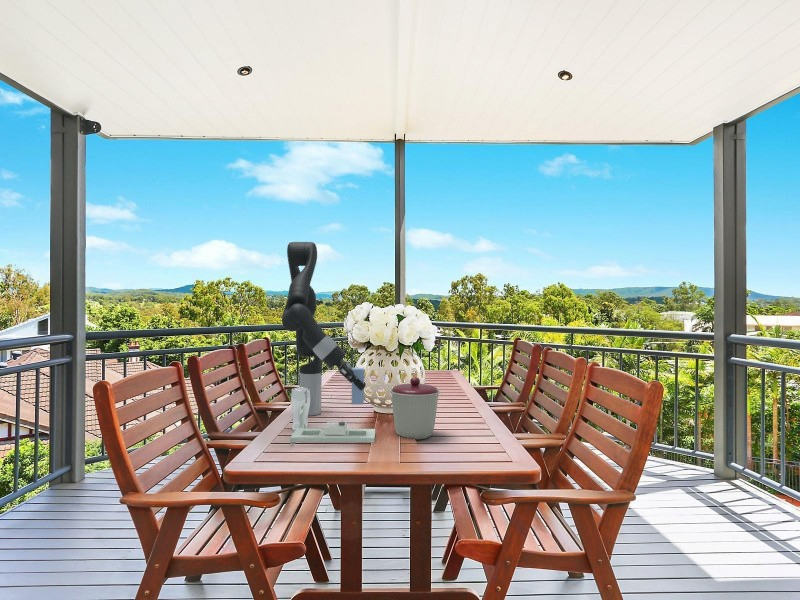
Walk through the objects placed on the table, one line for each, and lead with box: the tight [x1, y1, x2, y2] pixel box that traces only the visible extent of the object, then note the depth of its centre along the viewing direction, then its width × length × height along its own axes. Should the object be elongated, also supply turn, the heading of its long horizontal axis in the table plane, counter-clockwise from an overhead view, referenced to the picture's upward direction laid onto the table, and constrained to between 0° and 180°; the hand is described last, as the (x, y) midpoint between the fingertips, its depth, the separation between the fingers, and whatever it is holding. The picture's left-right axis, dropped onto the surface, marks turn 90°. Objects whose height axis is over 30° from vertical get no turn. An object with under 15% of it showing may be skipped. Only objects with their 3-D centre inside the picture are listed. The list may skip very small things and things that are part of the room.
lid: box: [324, 421, 348, 435], centre depth 182 cm, size 7×7×3 cm
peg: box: [351, 367, 365, 405], centre depth 182 cm, size 4×4×12 cm
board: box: [289, 427, 376, 445], centre depth 182 cm, size 12×28×2 cm, turn 92°
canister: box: [389, 376, 441, 441], centre depth 189 cm, size 18×18×21 cm
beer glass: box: [290, 386, 310, 431], centre depth 196 cm, size 7×7×15 cm
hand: (363, 387), depth 182 cm, fingers closed on peg, 4 cm apart
